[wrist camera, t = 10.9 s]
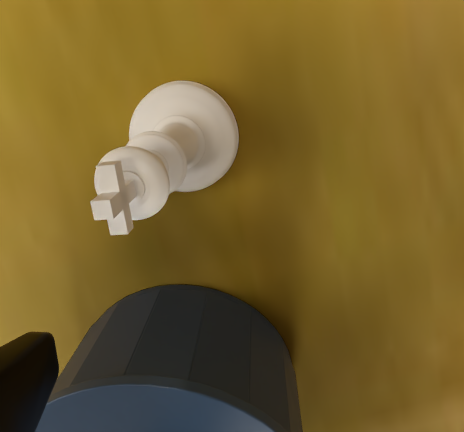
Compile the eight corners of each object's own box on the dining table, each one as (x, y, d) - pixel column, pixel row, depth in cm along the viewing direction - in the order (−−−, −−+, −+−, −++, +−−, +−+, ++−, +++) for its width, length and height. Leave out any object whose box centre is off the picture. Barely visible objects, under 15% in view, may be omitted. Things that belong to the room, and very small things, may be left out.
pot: (284, 458, 25) (294, 599, 18) (94, 443, 25) (37, 575, 19) (302, 291, 20) (325, 397, 14) (73, 277, 21) (-12, 373, 14)
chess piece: (233, 75, 17) (201, 78, 7) (243, 185, 18) (226, 303, 9) (122, 86, 17) (-43, 101, 8) (141, 193, 19) (25, 312, 9)
